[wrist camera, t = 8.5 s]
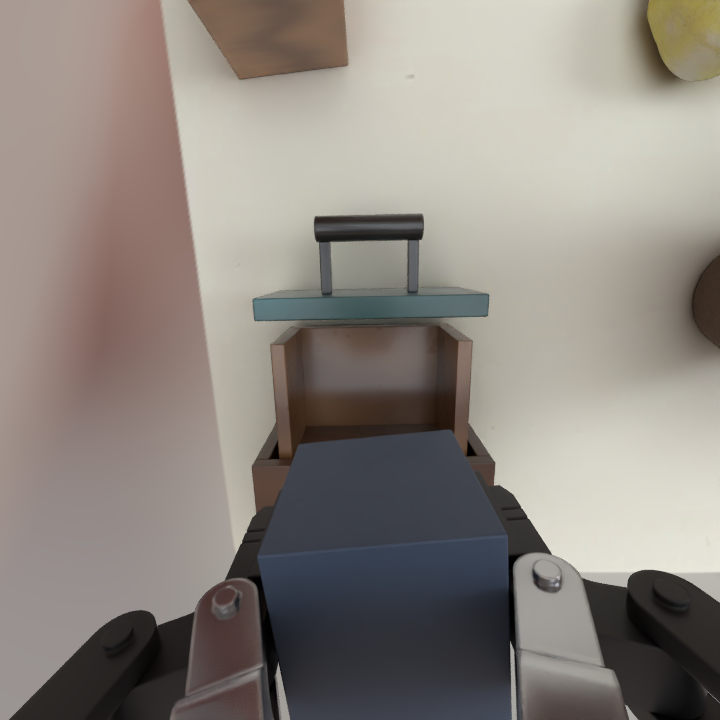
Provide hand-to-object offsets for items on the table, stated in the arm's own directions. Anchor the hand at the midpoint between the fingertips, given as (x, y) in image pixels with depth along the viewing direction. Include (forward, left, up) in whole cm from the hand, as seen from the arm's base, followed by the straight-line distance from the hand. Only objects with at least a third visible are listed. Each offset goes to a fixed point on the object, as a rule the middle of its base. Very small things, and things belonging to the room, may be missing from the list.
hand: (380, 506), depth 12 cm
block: (0, 0, 0) cm, 0 cm away
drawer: (-1, +2, -16) cm, 17 cm away
